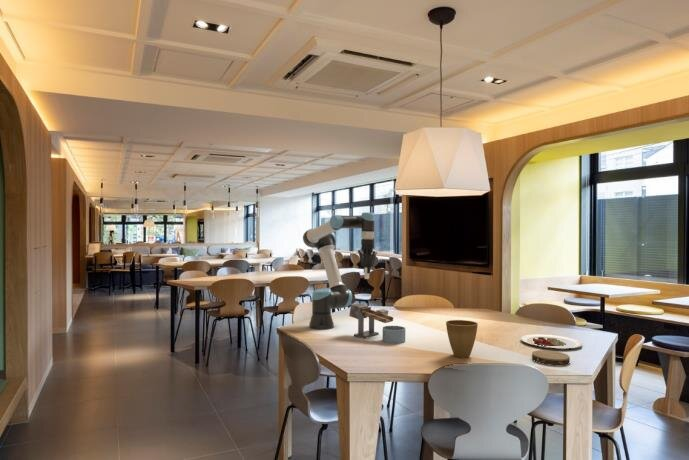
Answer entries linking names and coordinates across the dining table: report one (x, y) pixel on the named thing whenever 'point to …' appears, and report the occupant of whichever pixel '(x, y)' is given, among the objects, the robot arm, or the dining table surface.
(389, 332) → the cup
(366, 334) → the lever stand
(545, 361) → the brown round disc
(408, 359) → the dining table surface
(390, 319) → the lever
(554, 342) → the plated food
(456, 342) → the plant pot
